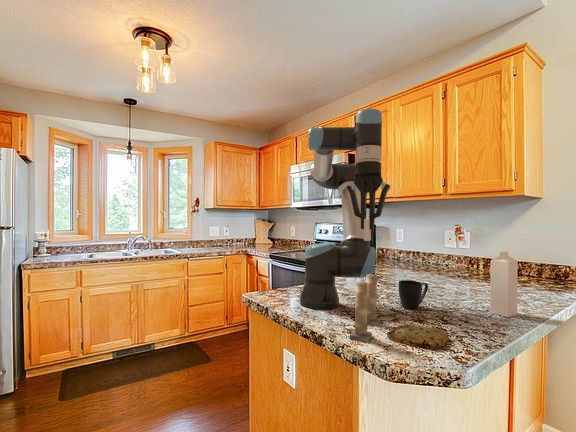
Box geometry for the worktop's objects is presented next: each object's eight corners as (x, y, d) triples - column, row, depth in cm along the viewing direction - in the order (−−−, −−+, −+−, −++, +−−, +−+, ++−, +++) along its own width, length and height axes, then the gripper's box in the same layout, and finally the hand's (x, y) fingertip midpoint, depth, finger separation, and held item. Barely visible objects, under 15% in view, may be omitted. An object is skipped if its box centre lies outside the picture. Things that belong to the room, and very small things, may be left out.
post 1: (349, 338, 85) (350, 283, 85) (354, 332, 89) (354, 280, 89) (368, 342, 82) (368, 285, 83) (371, 335, 87) (372, 282, 87)
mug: (435, 309, 114) (435, 283, 114) (407, 311, 111) (408, 285, 111) (419, 303, 122) (420, 279, 122) (393, 305, 119) (394, 280, 119)
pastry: (467, 351, 78) (467, 339, 78) (401, 353, 77) (401, 341, 77) (430, 327, 96) (430, 318, 96) (375, 328, 94) (375, 318, 94)
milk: (517, 315, 109) (518, 252, 109) (508, 317, 106) (509, 252, 106) (498, 310, 114) (499, 250, 114) (489, 312, 111) (490, 251, 111)
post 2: (361, 323, 97) (361, 275, 97) (364, 319, 102) (365, 273, 102) (377, 326, 95) (378, 277, 95) (380, 321, 100) (380, 274, 100)
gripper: (343, 161, 93) (342, 240, 93) (389, 158, 87) (387, 242, 87) (350, 165, 100) (349, 238, 99) (392, 162, 94) (391, 240, 94)
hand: (367, 240), depth 93 cm, fingers closed
